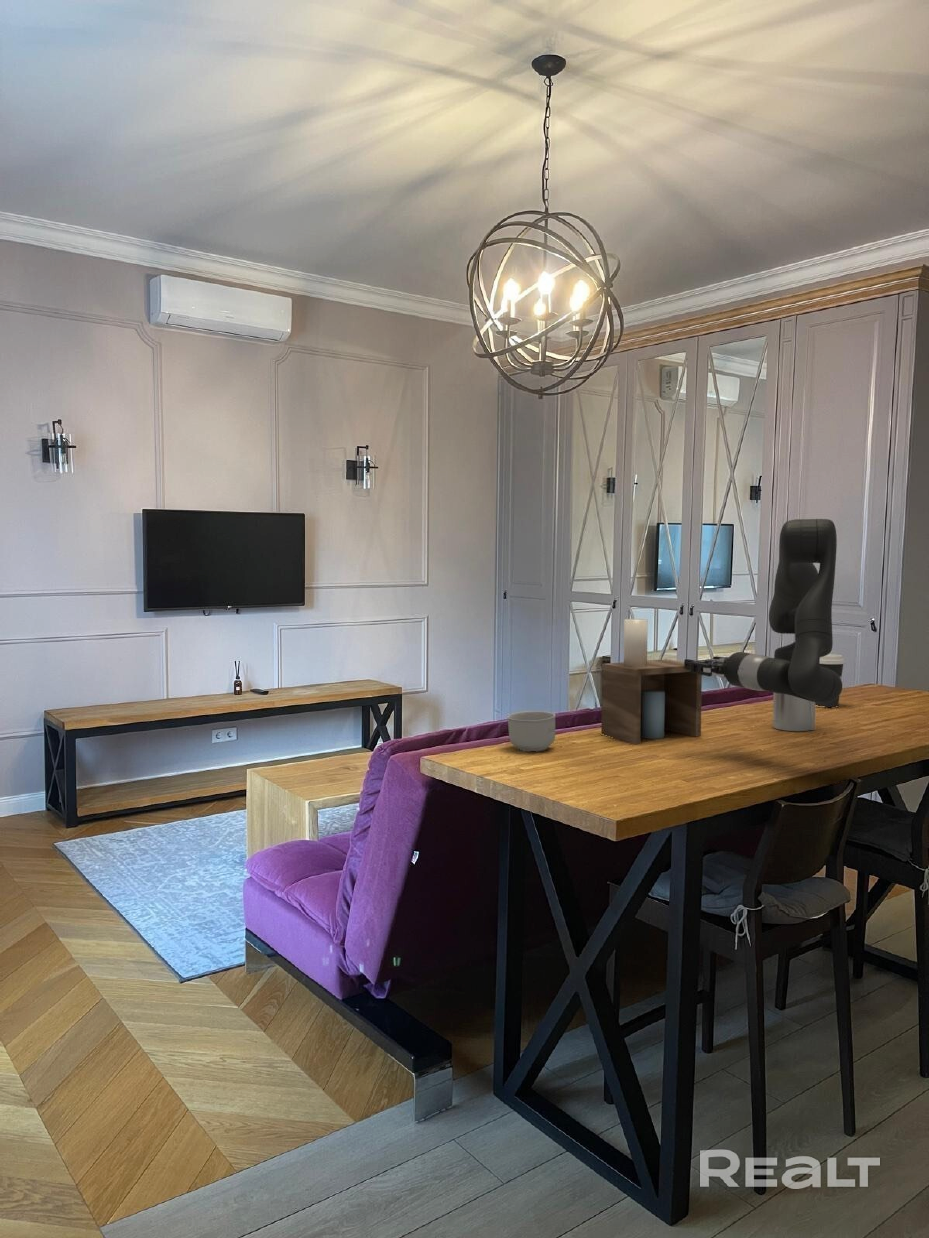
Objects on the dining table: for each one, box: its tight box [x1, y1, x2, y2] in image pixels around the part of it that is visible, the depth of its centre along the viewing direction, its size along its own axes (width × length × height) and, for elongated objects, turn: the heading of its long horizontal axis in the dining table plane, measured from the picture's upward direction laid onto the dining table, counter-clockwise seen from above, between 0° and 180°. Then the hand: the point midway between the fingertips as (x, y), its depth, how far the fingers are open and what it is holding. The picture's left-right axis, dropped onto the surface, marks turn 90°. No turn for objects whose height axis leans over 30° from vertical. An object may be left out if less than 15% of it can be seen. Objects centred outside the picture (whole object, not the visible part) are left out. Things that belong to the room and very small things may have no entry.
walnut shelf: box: [601, 659, 703, 745], centre depth 220 cm, size 20×13×18 cm, turn 118°
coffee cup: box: [815, 653, 846, 707], centre depth 263 cm, size 10×10×15 cm
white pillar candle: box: [623, 618, 649, 667], centre depth 217 cm, size 6×6×11 cm
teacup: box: [506, 710, 556, 752], centre depth 207 cm, size 14×11×8 cm
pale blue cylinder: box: [640, 690, 665, 739], centre depth 220 cm, size 6×6×11 cm
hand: (699, 662), depth 206 cm, fingers open, 8 cm apart
